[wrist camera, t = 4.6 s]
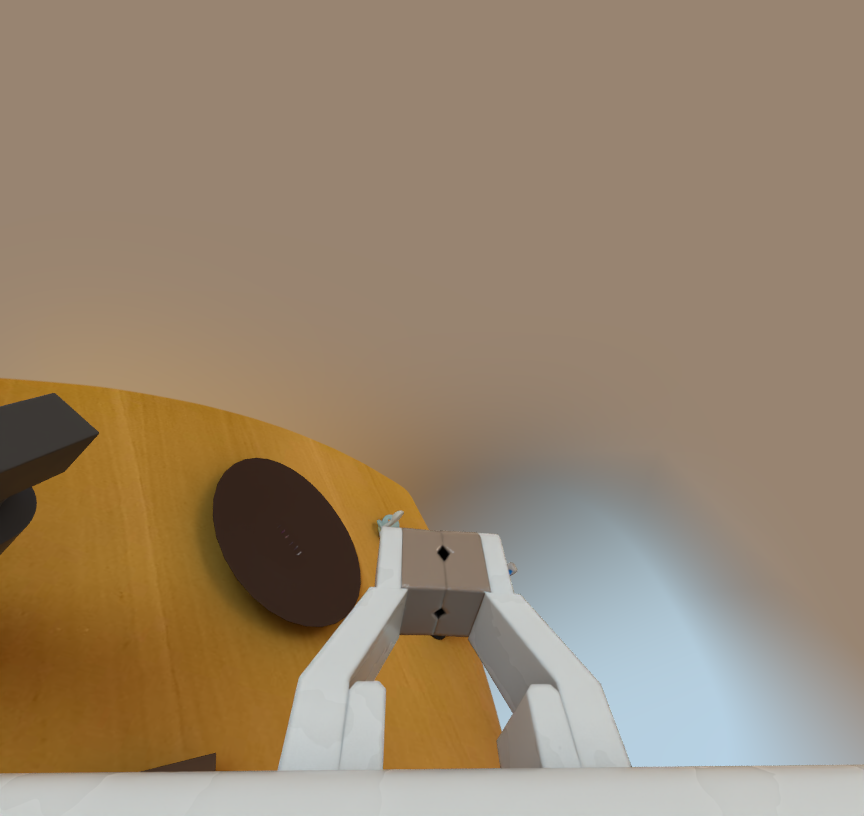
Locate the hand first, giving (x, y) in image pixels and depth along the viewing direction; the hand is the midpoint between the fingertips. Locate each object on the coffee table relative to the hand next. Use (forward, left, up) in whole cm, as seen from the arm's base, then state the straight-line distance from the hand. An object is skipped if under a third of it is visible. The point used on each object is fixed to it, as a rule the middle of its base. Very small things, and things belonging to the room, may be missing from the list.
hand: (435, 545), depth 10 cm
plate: (+27, -29, -39) cm, 56 cm away
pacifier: (+33, -54, -39) cm, 74 cm away
